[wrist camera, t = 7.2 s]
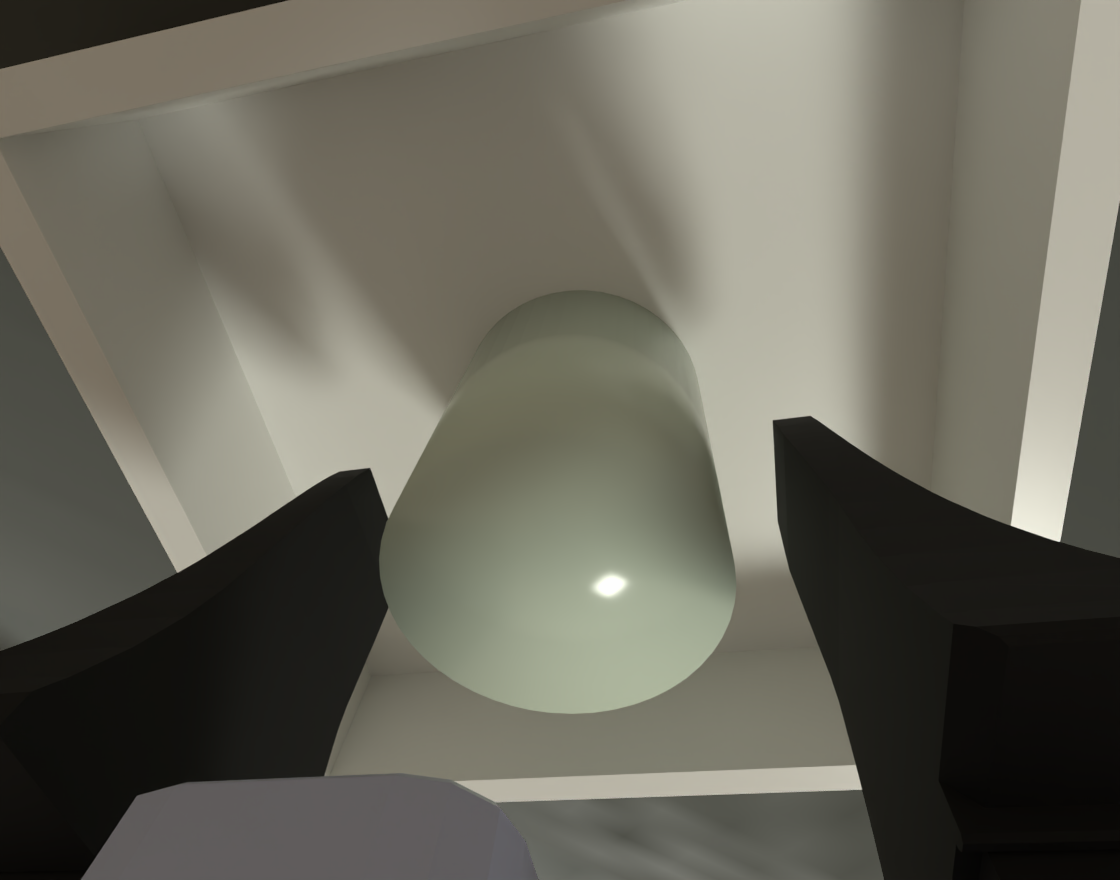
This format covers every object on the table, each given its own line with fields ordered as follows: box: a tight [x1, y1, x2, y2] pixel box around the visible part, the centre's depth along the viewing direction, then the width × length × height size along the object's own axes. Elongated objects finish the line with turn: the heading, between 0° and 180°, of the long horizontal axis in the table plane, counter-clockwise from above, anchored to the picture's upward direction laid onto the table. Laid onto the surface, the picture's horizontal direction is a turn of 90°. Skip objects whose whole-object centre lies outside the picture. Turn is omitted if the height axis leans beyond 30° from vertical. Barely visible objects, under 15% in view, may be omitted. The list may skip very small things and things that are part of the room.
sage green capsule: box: [379, 290, 736, 714], centre depth 13 cm, size 5×5×6 cm
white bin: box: [0, 0, 1120, 802], centre depth 14 cm, size 16×16×4 cm
